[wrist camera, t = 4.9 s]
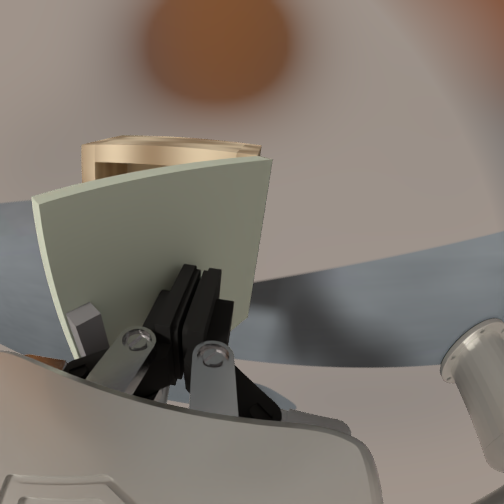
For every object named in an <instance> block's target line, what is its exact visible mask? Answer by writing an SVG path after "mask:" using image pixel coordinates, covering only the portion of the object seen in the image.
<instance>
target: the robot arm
mask: <svg viewBox="0 0 504 504" xmlns="http://www.w3.org/2000/svg"><path fill="white" fill-rule="evenodd" d="M221 274H222V269H215V268H209V269H208V271H207V270H204V271H203V274H202V276H201V270H200V269H197V266H196V265H189V264H184V265H183V266H182V268H181V270H180V272H179V274H178V276H177V278H176V280H175V282H174V284H173V286H172V288H171V290H170V291H169V290H161V292H160V293H159V295H158V297H157V299H156V301H155V303H154V305H153V307H152V308H151V310H150V312H149V314H148V316H147V318H146V320H145V322H144V324H143V326H142V327H141V326H134V327H130V328H128V329H126V330H124V331H123V332H122V333H121V334H120V335H119V336H118V338H117V339H116V340H115V341H114V343H113V344H112V345H111V346H110V348H107V349H104V350H101V351H99V352H96V353H93V354H90V355H87V356H84V357H81V358H78V359H75V360H73V361H71V362H69V363H67V362H66V360H60V359H54V358H48V357H42V356H37V355H32V354H27V355H22V354H18V353H14V352H9V351H0V504H383V498H382V490H381V485H380V480H379V475H378V471H377V468H376V464H375V462H374V459H373V456H372V454H371V452H370V450H369V449H368V448H367V446H366V445H365V444H364V443H363V442H361V441H360V440H358V439H356V438H354V437H352V436H351V431H350V429H349V427H348V425H347V424H345V423H344V422H343V421H340V420H338V419H332V418H328V417H323V416H318V415H314V414H309V413H305V412H301V411H297V410H293V409H289V411H287V410H283V409H280V408H279V407H278V405H277V404H276V403H275V402H274V401H273V400H271V399H270V398H269V397H268V396H267V395H266V394H265V393H264V392H263V391H261V390H260V389H259V388H258V387H257V386H256V385H255V384H254V383H253V382H252V381H251V380H250V379H249V378H247V376H245V375H244V374H243V373H242V372H241V371H240V370H239V369H238V368H237V367H236V366H235V365H234V364H235V363H234V354H233V351H232V350H231V348H230V347H229V346H228V342H229V336H230V330H231V323H232V316H233V308H234V301H230V300H223V299H219V297H220V285H221ZM183 373H184V378H185V386H186V389H187V391H188V392H189V393H190V403H189V409H188V408H183V407H178V406H174V405H169V404H165V403H161V402H159V400H160V398H161V396H162V394H163V391H164V389H163V388H165V387H167V386H169V385H176V381H177V379H182V376H183ZM440 373H441V376H442V378H443V380H444V381H445V382H447V383H456V384H457V387H458V389H459V391H460V394H461V396H462V398H463V400H464V403H465V405H466V407H467V410H468V412H469V415H470V417H471V420H472V422H473V425H474V427H475V430H476V433H477V436H478V438H479V441H480V444H481V447H482V450H483V453H484V456H485V459H486V461H487V463H488V464H489V465H490V467H492V468H493V469H495V470H497V471H499V472H503V473H504V323H503V321H502V320H500V319H495V318H493V319H489V320H486V321H483V322H481V323H479V324H477V325H476V326H474V327H473V328H471V329H470V330H469V331H467V332H466V333H465V334H464V335H463V336H461V337H460V338H459V339H458V340H457V341H456V342H455V344H454V345H453V346H452V347H451V348H450V350H449V351H448V352H447V354H446V355H445V357H444V359H443V361H442V364H441V367H440ZM472 504H504V485H503V486H501V487H500V488H498V489H497V490H495V491H493V492H492V493H490V494H488V495H487V496H485V497H483V498H481V499H479V500H477V501H476V502H474V503H472Z"/></svg>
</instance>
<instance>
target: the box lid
mask: <svg viewBox="0 0 504 504" xmlns="http://www.w3.org/2000/svg"><path fill="white" fill-rule="evenodd" d="M271 166H272V159H269V158H265V157H260V156H249V157H238V158H228V159H218V160H210V161H201V162H193V163H186V164H179V165H172V166H166V167H159V168H153V169H148V170H142V171H136V172H131V173H126V174H121V175H116V176H111V177H106V178H102V179H97V180H93V181H89V182H84V183H80V184H76V185H72V186H69V187H65V188H61V189H57V190H53V191H50V192H46V193H43V194H40V195H36V196H32V197H31V198H32V206H33V213H34V220H35V226H36V232H37V237H38V242H39V247H40V252H41V257H42V261H43V265H44V269H45V273H46V277H47V281H48V284H49V288H50V292H51V295H52V298H53V301H54V305H55V308H56V311H57V314H58V317H59V320H60V323H61V325H62V328H63V331H64V334H65V336H66V339H67V341H68V344H69V346H70V349H71V351H72V354H73V356H74V358H75V359H78V358H81V357H84V356H87V355H90V354H93V353H96V352H99V351H101V350H104V349H107V348H110V346H111V345H112V344H113V343H114V341H115V340H116V339H117V338H118V336H119V335H120V334H121V333H122V332H123V331H124V330H126V329H128V328H130V327H134V326H141V327H142V326H143V324H144V322H145V320H146V318H147V316H148V314H149V312H150V310H151V308H152V307H153V305H154V303H155V301H156V299H157V297H158V295H159V293H160V292H161V290H169V291H170V290H171V288H172V286H173V284H174V282H175V280H176V278H177V276H178V274H179V272H180V270H181V268H182V266H183V265H184V264H189V265H196V266H197V269H200V270H201V276H202V274H203V271H204V270H207V271H208V269H209V268H215V269H222V274H221V285H220V297H219V299H223V300H230V301H234V308H233V316H232V323H231V330H233V329H234V328H235V327H236V326H237V325H239V324H240V323H241V322H242V321H244V320H245V319H246V318H247V317H248V312H249V306H250V300H251V294H252V287H253V281H254V274H255V268H256V262H257V256H258V249H259V243H260V237H261V230H262V224H263V218H264V212H265V205H266V199H267V192H268V186H269V179H270V173H271ZM231 330H230V331H231Z"/></svg>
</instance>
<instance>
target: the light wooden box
mask: <svg viewBox="0 0 504 504" xmlns="http://www.w3.org/2000/svg"><path fill="white" fill-rule="evenodd" d="M260 152H261V145H253V144H245V143H237V142H228V141H219V140H208V139H197V138H183V137H164V136H124V135H122V136H117V137H112V138H108V139H104V140H99V141H95V142H91V143H87V144H83V145H82V183H84V182H89V181H93V180H97V179H102V178H106V177H111V176H116V175H121V174H126V173H131V172H136V171H142V170H148V169H153V168H159V167H166V166H172V165H179V164H186V163H193V162H201V161H210V160H218V159H228V158H238V157H249V156H260Z"/></svg>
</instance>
